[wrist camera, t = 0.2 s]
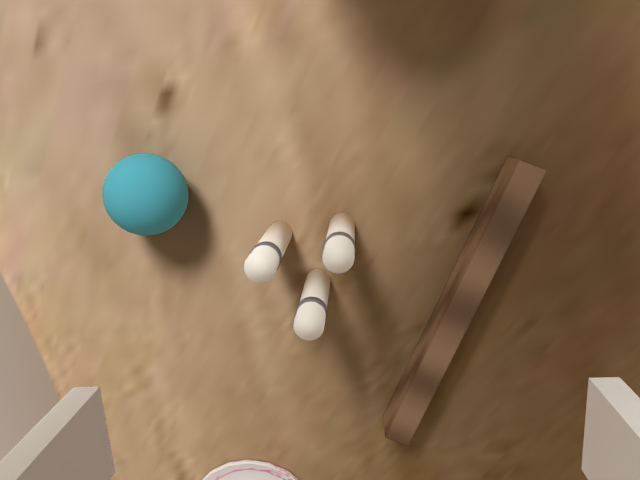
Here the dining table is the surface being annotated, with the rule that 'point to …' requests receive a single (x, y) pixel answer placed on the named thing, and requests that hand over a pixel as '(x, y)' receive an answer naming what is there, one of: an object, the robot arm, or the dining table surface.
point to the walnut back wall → (461, 296)
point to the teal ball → (145, 194)
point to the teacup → (249, 471)
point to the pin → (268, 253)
